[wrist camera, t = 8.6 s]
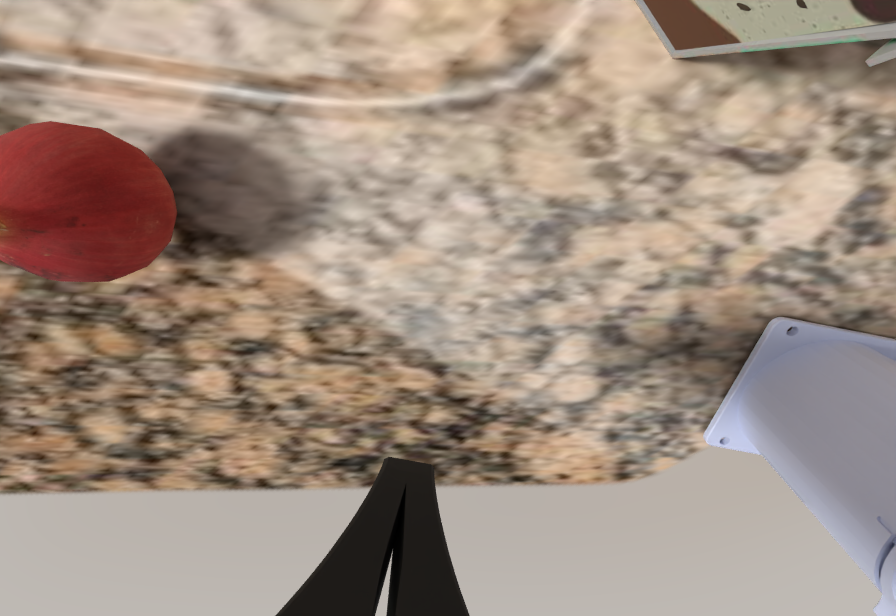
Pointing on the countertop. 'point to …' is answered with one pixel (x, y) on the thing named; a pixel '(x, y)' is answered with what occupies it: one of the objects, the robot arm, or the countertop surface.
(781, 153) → the countertop surface
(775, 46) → the food container
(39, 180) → the red pomegranate
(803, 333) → the robot arm
